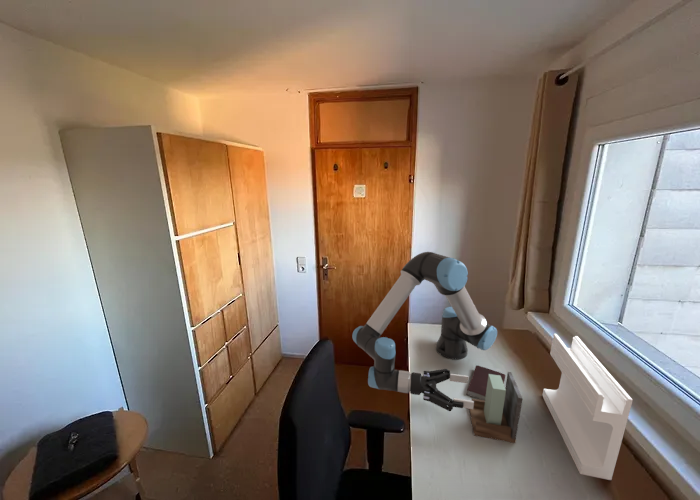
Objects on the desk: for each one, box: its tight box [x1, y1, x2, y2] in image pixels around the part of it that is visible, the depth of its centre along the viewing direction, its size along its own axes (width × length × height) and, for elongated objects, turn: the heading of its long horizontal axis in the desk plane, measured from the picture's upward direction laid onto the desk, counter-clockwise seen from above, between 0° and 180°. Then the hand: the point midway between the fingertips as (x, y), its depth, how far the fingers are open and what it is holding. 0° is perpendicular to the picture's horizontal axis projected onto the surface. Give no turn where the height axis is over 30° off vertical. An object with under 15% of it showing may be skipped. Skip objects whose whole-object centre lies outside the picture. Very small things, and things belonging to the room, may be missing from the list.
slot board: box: [468, 371, 524, 444], centre depth 111 cm, size 14×13×18 cm
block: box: [542, 333, 634, 481], centre depth 107 cm, size 35×8×28 cm, turn 166°
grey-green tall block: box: [484, 374, 506, 425], centre depth 111 cm, size 8×4×16 cm, turn 167°
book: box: [466, 364, 507, 400], centre depth 133 cm, size 12×19×3 cm, turn 149°
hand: (470, 391), depth 112 cm, fingers open, 13 cm apart
